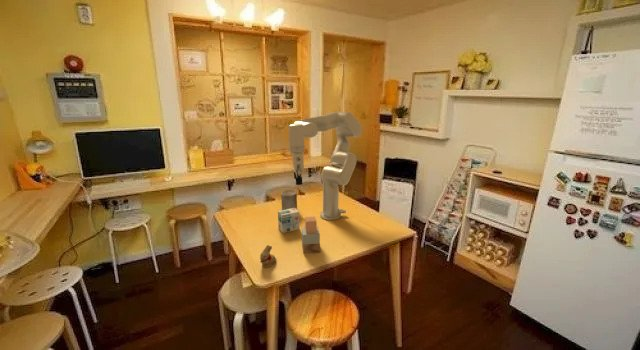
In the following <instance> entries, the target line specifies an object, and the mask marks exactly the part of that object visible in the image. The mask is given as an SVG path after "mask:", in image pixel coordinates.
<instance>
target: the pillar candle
mask: <svg viewBox="0 0 640 350" xmlns="http://www.w3.org/2000/svg"><path fill="white" fill-rule="evenodd" d="M280 193H281V195H280V197H281V210H286V209H291V208H296V209H297V210H298V200H297V199H298V197H297V191H296V190H292V189H287V190H283V191H281V192H280Z"/></svg>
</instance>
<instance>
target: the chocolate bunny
mask: <svg viewBox="0 0 640 350" xmlns="http://www.w3.org/2000/svg"><path fill="white" fill-rule="evenodd" d="M272 249H273V247H272V245H269V244H267V245H266V246H265V248H264V249H263V250H262V251H261V253H260V255H259V256H260V257H259V259H260V263H261V267H262V268H263V269H266V268H267V269H268V268H271V267H272V266H274V265H275V264H276V263H277V258H276V256H275V254H271V250H272Z"/></svg>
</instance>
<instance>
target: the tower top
mask: <svg viewBox="0 0 640 350" xmlns="http://www.w3.org/2000/svg"><path fill="white" fill-rule="evenodd" d="M320 234H321V233H320V230H319V226H317V233H306V230H305V226H301V242H302V241H303V244H320V245H321V243H320V241H321V235H320Z"/></svg>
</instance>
